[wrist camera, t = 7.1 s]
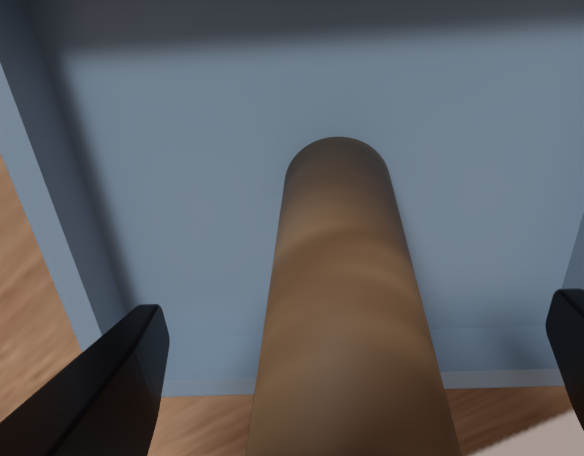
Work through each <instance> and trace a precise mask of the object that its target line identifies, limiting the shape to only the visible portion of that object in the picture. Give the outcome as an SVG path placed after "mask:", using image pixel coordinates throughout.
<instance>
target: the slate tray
mask: <svg viewBox="0 0 584 456" xmlns="http://www.w3.org/2000/svg"><path fill="white" fill-rule="evenodd" d="M328 137H349V138H353V139H357V140H359V141H362V142H364V143H366V144H368V145H369V146H371V147H372V148H373V149H375V150H376V151H377V152H378V153H379V154H380V156H381V157H382V158H383V160H384V161H385V163H386V165H387V168H388V171H389V174H390V178H391V182H392V186H393V190H394V194H395V198H396V202H397V206H398V210H399V214H400V217H401V221H402V225H403V229H404V233H405V237H406V241H407V245H408V249H409V253H410V257H411V261H412V264H413V268H414V272H415V276H416V280H417V284H418V288H419V292H420V296H421V300H422V304H423V308H424V311H425V315H426V319H427V323H428V327H429V331H430V335H431V339H432V343H433V347H434V351H435V355H436V358H437V362H438V366H439V370H440V374H441V378H442V382H443V386H444V389H466V388H502V387H539V386H565V385H564V382H563V379H562V376H561V374H560V371H559V368H558V365H557V362H556V360H555V357H554V354H553V351H552V348H551V345H550V343H549V340H548V337H547V334H546V328H545V323H546V318H547V315H548V311H549V308H550V304H551V300H552V297H553V294H554V292H555V291H556V290H558V289H563V288H580V289H583V290H584V0H0V153H1V155H2V158H3V160H4V163H5V165H6V167H7V170H8V172H9V175H10V177H11V180H12V182H13V184H14V187H15V189H16V192H17V194H18V197H19V199H20V202H21V204H22V206H23V209H24V211H25V214H26V216H27V219H28V221H29V223H30V226H31V228H32V231H33V233H34V236H35V238H36V240H37V243H38V245H39V248H40V250H41V253H42V255H43V258H44V260H45V262H46V265H47V267H48V270H49V272H50V275H51V277H52V279H53V282H54V284H55V287H56V289H57V292H58V294H59V296H60V299H61V301H62V304H63V306H64V309H65V311H66V314H67V316H68V318H69V321H70V323H71V326H72V328H73V331H74V333H75V335H76V338H77V340H78V343H79V345H80V348H81V350H82V352H83V351H85V350H86V349H87V348H88V347H89V346H90V345H92V344H93V343H94V342H95V341H96V340H97V339H99V338H100V337H101V336H102V335H103V334H104V333H106V332H107V331H108V330H109V329H110V328H111V327H113V326H114V325H115V324H116V323H117V322H118V321H120V320H121V319H122V318H123V317H124V316H125V315H127V314H128V313H129V312H130V311H131V310H132V309H134V308H135V307H136V306H138V305H141V304H158V305H160V306H161V308H162V310H163V314H164V317H165V321H166V325H167V328H168V332H169V337H170V346H169V352H168V358H167V365H166V371H165V377H164V383H163V389H162V395H161V397H174V396H211V395H247V394H254V392H255V385H256V378H257V371H258V364H259V357H260V350H261V343H262V336H263V329H264V322H265V315H266V308H267V301H268V294H269V287H270V280H271V273H272V266H273V259H274V252H275V245H276V238H277V231H278V224H279V217H280V209H281V202H282V195H283V188H284V181H285V175H286V172H287V169H288V166H289V164H290V163H291V161H292V159H293V158H294V157H295V156H296V154H297V153H298V152H299V151H301V150H302V149H303V148H304V147H306V146H307V145H309V144H311V143H313V142H315V141H317V140H320V139H324V138H328Z"/></svg>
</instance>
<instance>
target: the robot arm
mask: <svg viewBox="0 0 584 456" xmlns="http://www.w3.org/2000/svg"><path fill="white" fill-rule="evenodd" d="M545 328H546V334H547V337H548V340H549V343H550V345H551V348H552V351H553V354H554V357H555V360H556V362H557V365H558V368H559V371H560V374H561V376H562V379H563V382H564V385H565V388H566V391H567V393H568V396H569V399H570V401H571V404H572V407H573V409H574V411H575V413H576V415H577V417H578V420H579V422H580V424H581V426H582V428H583V430H584V290H583V289H580V288H563V289H558V290H556V291H555V292H554V294H553V297H552V300H551V304H550V308H549V311H548V315H547V318H546V323H545ZM169 346H170V337H169V332H168V328H167V325H166V321H165V317H164V314H163V310H162V308H161V306H160V305H158V304H141V305H138V306H136V307H135V308H134V309H132V310H131V311H130V312H129V313H128V314H127V315H125V316H124V317H123V318H122V319H121V320H120V321H118V322H117V323H116V324H115V325H114V326H113V327H111V328H110V329H109V330H108V331H107V332H106V333H104V334H103V335H102V336H101V337H100V338H99V339H97V340H96V341H95V342H94V343H93V344H92V345H90V346H89V347H88V348H87V349H86V350H85V351H83V352H82V353H81V354H80V355H79V356H78V357H76V358H75V359H74V360H73V361H72V362H71V363H69V364H68V365H67V366H66V367H65V368H64V369H62V370H61V371H60V372H59V373H58V374H57V375H55V376H54V377H53V378H52V379H51V380H49V381H48V382H47V383H46V384H45V385H44V386H42V387H41V388H40V389H39V390H38V391H37V392H35V393H34V394H33V395H32V396H31V397H30V398H28V399H27V400H26V401H25V402H24V403H23V404H21V405H20V406H19V407H18V408H17V409H16V410H14V411H13V412H12V413H11V414H10V415H9V416H7V417H6V418H5V419H4V420H3V421H2V422H0V456H147V454H148V451H149V447H150V444H151V440H152V437H153V433H154V430H155V426H156V422H157V418H158V412H159V407H160V401H161V395H162V389H163V383H164V377H165V371H166V365H167V358H168V352H169Z"/></svg>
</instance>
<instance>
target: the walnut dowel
mask: <svg viewBox="0 0 584 456" xmlns="http://www.w3.org/2000/svg"><path fill="white" fill-rule="evenodd" d="M246 456H461V453H460V449H459V445H458V441H457V437H456V433H455V429H454V425H453V421H452V417H451V413H450V409H449V405H448V402H447V398H446V394H445V390H444V386H443V382H442V378H441V374H440V370H439V366H438V362H437V358H436V355H435V351H434V347H433V343H432V339H431V335H430V331H429V327H428V323H427V319H426V315H425V311H424V308H423V304H422V300H421V296H420V292H419V288H418V284H417V280H416V276H415V272H414V268H413V264H412V261H411V257H410V253H409V249H408V245H407V241H406V237H405V233H404V229H403V225H402V221H401V217H400V214H399V210H398V206H397V202H396V198H395V194H394V190H393V186H392V182H391V178H390V174H389V171H388V168H387V165H386V163H385V161H384V160H383V158H382V157H381V156H380V154H379V153H378V152H377V151H376V150H375V149H373V148H372V147H371V146H369V145H368V144H366V143H364V142H362V141H359V140H357V139H353V138H349V137H328V138H324V139H320V140H317V141H315V142H313V143H311V144H309V145H307V146H306V147H304V148H303V149H302V150H301V151H299V152H298V153H297V154H296V156H295V157H294V158H293V159H292V161H291V163H290V164H289V166H288V169H287V172H286V175H285V181H284V188H283V195H282V202H281V209H280V217H279V224H278V231H277V238H276V245H275V252H274V259H273V266H272V273H271V280H270V287H269V294H268V301H267V308H266V315H265V322H264V329H263V336H262V343H261V350H260V357H259V364H258V371H257V378H256V385H255V392H254V399H253V406H252V413H251V420H250V428H249V435H248V442H247V449H246Z"/></svg>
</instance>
